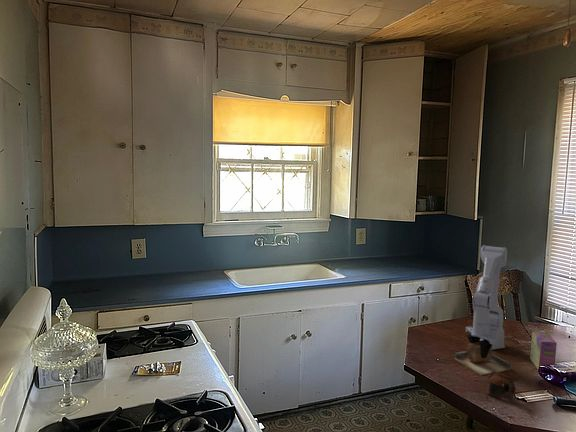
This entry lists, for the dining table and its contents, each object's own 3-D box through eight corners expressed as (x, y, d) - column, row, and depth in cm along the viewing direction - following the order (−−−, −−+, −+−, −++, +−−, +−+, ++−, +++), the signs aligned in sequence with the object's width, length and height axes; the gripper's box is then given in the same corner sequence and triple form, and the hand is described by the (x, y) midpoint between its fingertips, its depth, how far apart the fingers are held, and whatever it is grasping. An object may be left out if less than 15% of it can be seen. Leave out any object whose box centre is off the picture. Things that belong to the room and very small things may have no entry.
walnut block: (466, 358, 182) (467, 343, 181) (482, 355, 185) (483, 341, 184) (474, 362, 178) (475, 348, 177) (491, 359, 180) (492, 345, 180)
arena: (481, 354, 189) (482, 348, 189) (510, 369, 175) (510, 363, 175) (454, 358, 185) (454, 352, 184) (481, 375, 171) (481, 368, 170)
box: (554, 371, 174) (556, 342, 172) (538, 370, 175) (540, 341, 173) (545, 360, 184) (547, 332, 182) (529, 359, 185) (531, 331, 183)
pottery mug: (477, 390, 160) (484, 368, 162) (499, 400, 162) (506, 377, 164) (501, 399, 149) (508, 374, 151) (524, 409, 150) (531, 385, 152)
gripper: (460, 317, 185) (458, 349, 186) (486, 329, 171) (484, 363, 173) (474, 315, 187) (472, 346, 189) (501, 327, 174) (499, 361, 175)
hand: (479, 354), depth 181 cm, fingers closed on walnut block, 4 cm apart
